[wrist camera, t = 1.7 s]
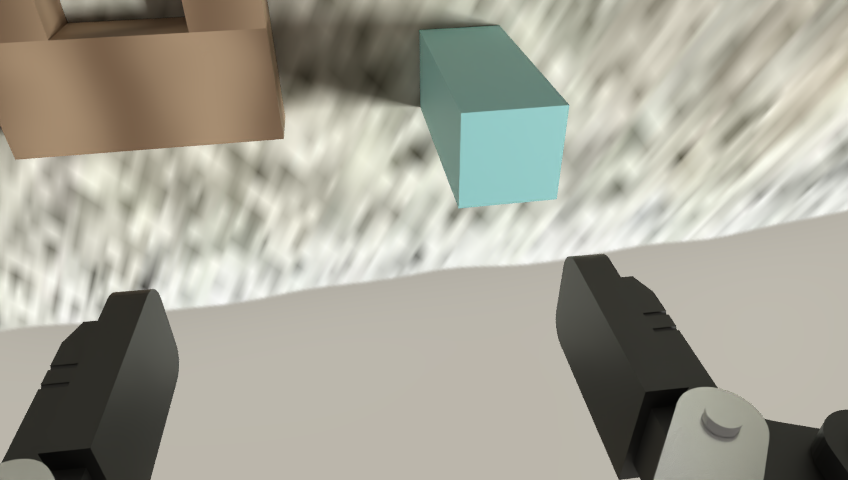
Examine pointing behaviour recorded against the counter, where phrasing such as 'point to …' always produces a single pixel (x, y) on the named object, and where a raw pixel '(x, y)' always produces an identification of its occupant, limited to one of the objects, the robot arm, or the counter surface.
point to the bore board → (137, 79)
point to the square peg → (491, 116)
